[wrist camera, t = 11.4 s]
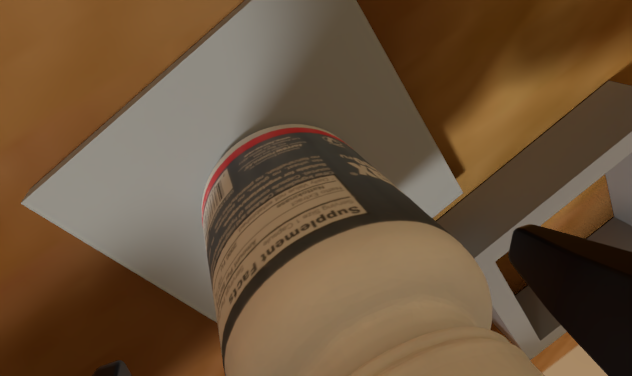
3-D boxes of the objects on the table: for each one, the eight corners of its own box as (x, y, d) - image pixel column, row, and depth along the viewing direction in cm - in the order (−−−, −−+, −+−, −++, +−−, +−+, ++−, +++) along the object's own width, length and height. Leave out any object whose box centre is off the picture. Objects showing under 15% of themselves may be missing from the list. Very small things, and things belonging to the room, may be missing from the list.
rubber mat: (263, 337, 16) (266, 353, 15) (30, 189, 10) (20, 203, 10) (450, 183, 15) (463, 192, 15) (311, -59, 10) (322, -62, 9)
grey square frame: (494, 324, 21) (529, 361, 19) (427, 228, 16) (465, 265, 14) (631, 215, 21) (682, 241, 19) (608, 80, 16) (676, 95, 14)
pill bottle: (381, 209, 14) (633, 472, 6) (260, 290, 14) (374, 657, 6) (317, 84, 11) (646, 299, 3) (161, 185, 11) (150, 645, 3)
